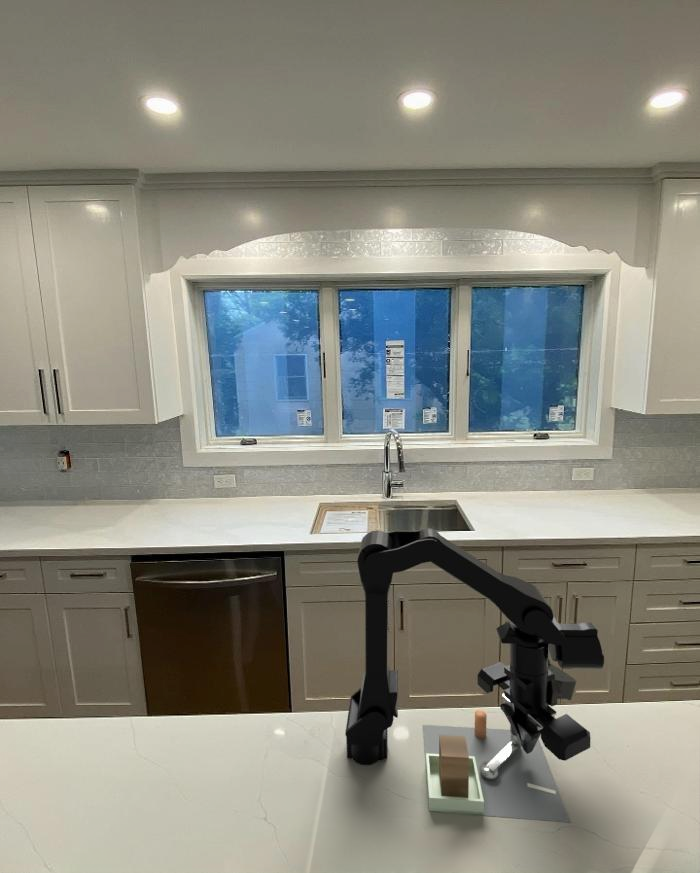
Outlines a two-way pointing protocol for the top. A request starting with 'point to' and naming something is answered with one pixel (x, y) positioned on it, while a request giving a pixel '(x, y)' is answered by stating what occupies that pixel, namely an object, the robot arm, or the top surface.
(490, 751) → the plate
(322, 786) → the top surface
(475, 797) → the tray
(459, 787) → the block
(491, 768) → the crank
